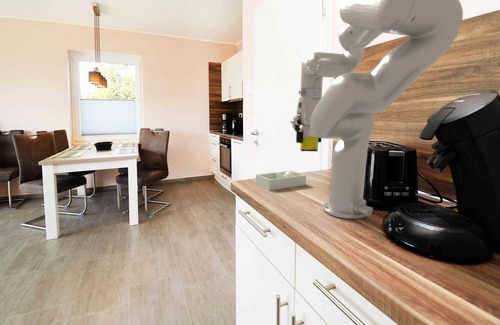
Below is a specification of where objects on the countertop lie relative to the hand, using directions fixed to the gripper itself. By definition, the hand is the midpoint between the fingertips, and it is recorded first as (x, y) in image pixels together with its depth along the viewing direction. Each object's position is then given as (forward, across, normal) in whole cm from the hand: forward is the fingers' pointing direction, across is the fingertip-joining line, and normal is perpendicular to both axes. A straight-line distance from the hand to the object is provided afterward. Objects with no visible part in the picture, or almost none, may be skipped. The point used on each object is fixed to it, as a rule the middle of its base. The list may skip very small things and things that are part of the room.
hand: (308, 142), depth 98 cm
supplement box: (+3, 0, 0) cm, 3 cm away
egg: (+18, 0, +10) cm, 21 cm away
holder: (+19, -5, +10) cm, 22 cm away
